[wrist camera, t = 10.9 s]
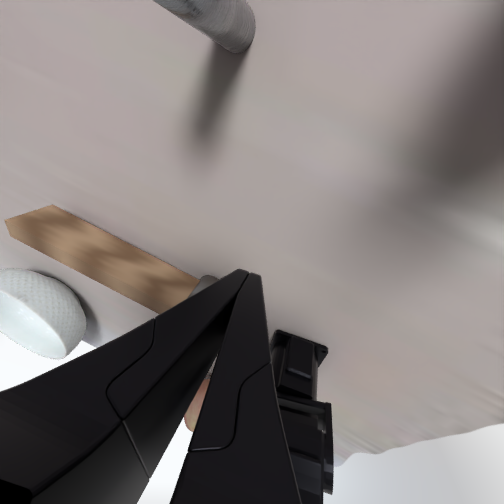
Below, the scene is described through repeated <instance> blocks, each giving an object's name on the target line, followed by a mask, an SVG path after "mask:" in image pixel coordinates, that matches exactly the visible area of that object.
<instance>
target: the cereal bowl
mask: <svg viewBox="0 0 504 504" xmlns="http://www.w3.org/2000/svg"><path fill="white" fill-rule="evenodd" d="M86 325H87V323H86V318H85V314H84V311H83V309H82V308H81V304H80V301H79V299H78V297H77V296H76V295H75V293H74V292H73V291H72V290H71V289H70V288H69V287H67V286H66V285H65V284H63V283H62V282H60V281H59V280H57V279H54V278H51V277H46V276H44V275H41V274H39V273H37V272H33V271H29V270H24V269H14V268H13V269H12V268H11V269H1V270H0V332H1V333H3V334H4V335H6V336H7V337H8V338H10V339H11V340H13V341H14V342H16V343H17V344H19V345H21V346H22V347H24V348H26V349H28V350H30V351H32V352H34V353H36V354H38V355H41V356H43V357H47V358H50V359H63V358H65V357H66V356H67V355H68V354H70V352H71V351H72V350H73V349H74V348H75V347H76V346H77V345H78V344H79V342H80V341H81V340H82V338H83V336H84V334H85V331H86Z"/></svg>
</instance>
